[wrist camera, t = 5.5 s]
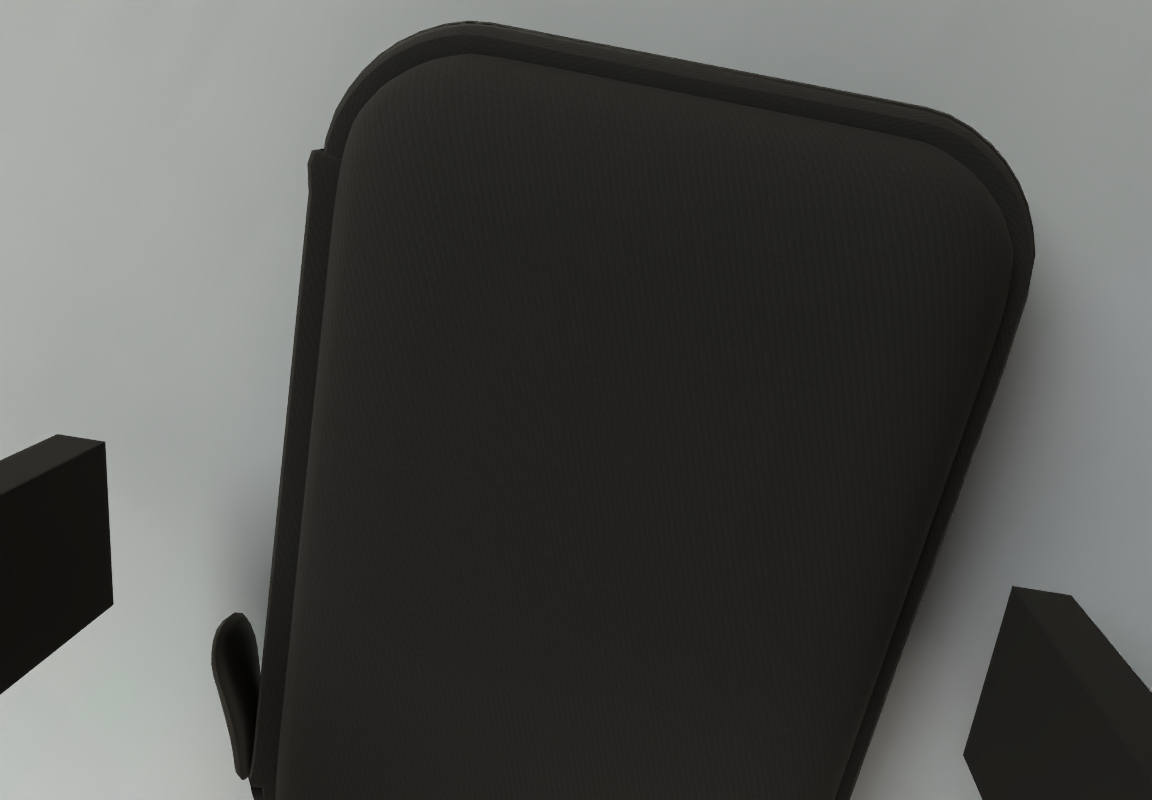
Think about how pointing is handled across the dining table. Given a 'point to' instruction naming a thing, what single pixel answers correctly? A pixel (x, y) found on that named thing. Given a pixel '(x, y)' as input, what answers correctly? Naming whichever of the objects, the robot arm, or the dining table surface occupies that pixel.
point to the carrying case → (616, 426)
